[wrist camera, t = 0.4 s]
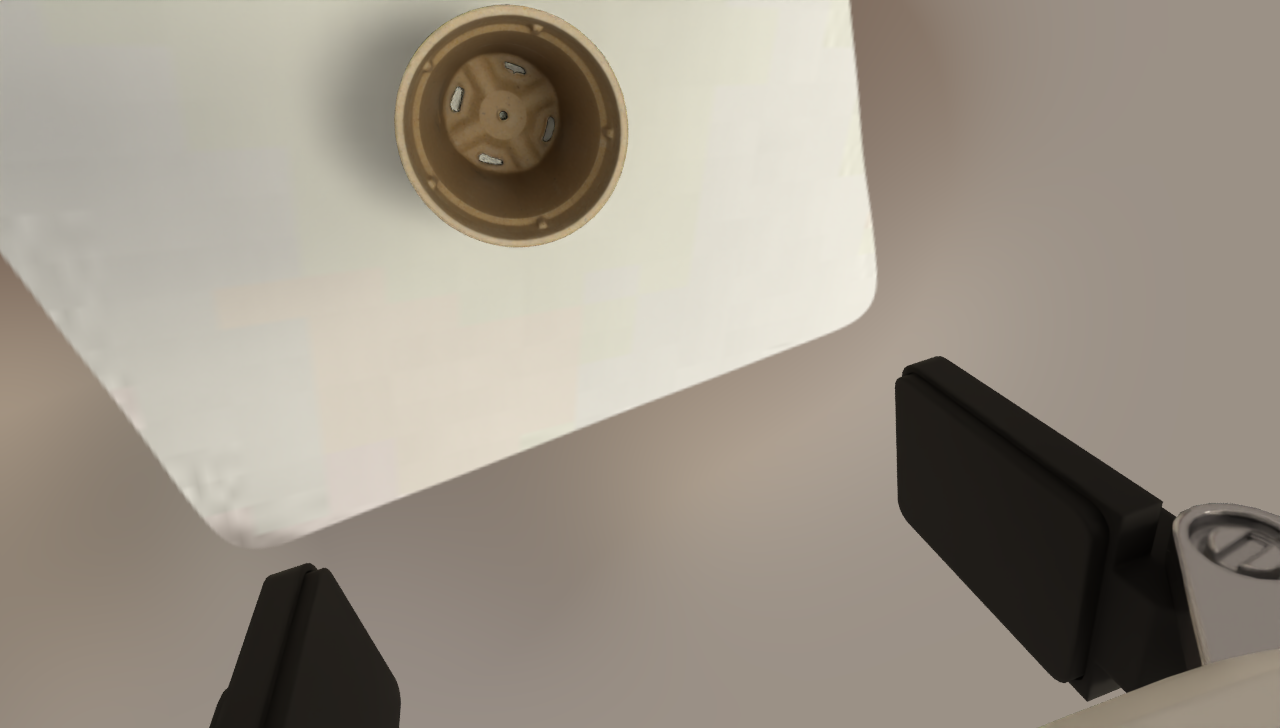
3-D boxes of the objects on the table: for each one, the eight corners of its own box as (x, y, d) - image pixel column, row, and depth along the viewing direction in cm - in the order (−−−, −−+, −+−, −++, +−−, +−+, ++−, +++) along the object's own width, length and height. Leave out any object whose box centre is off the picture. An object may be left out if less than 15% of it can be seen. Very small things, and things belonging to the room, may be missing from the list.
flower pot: (386, 17, 32) (366, 14, 24) (581, 3, 34) (619, -4, 26) (428, 213, 36) (423, 261, 29) (599, 191, 38) (636, 232, 30)
